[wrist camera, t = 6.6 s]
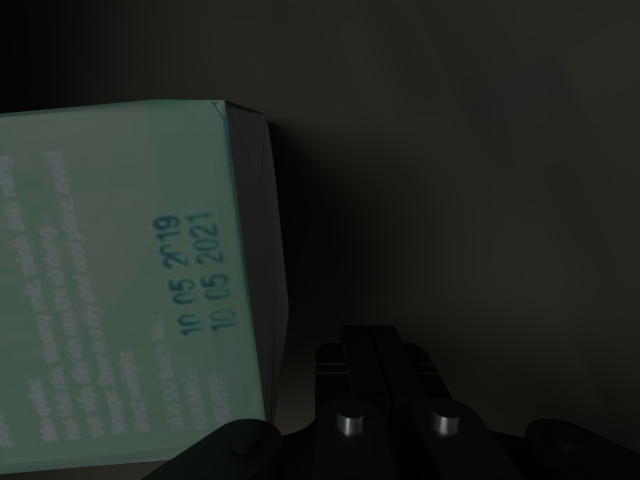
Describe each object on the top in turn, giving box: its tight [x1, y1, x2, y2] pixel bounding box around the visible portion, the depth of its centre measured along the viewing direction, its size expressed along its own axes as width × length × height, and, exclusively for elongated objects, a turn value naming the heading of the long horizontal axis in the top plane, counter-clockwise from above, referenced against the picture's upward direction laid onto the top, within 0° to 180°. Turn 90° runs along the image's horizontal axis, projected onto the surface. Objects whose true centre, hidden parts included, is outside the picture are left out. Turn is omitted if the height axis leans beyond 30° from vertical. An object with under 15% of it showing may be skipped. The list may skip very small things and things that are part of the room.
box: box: [0, 100, 289, 474], centre depth 12 cm, size 7×14×8 cm, turn 95°
